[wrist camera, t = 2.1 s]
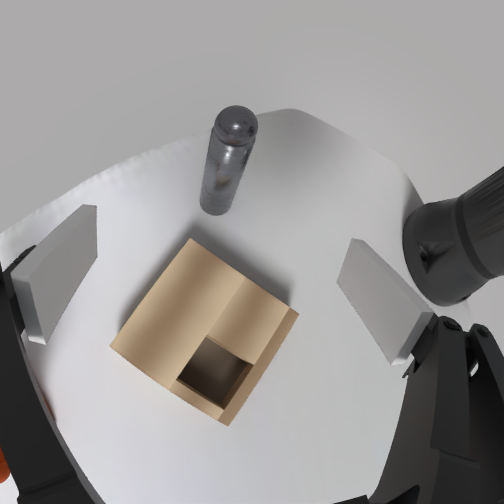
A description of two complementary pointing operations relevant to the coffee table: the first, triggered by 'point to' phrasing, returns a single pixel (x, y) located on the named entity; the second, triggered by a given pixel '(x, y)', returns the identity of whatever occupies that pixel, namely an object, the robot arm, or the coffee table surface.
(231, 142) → the metal round-headed rod
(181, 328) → the block
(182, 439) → the coffee table surface
